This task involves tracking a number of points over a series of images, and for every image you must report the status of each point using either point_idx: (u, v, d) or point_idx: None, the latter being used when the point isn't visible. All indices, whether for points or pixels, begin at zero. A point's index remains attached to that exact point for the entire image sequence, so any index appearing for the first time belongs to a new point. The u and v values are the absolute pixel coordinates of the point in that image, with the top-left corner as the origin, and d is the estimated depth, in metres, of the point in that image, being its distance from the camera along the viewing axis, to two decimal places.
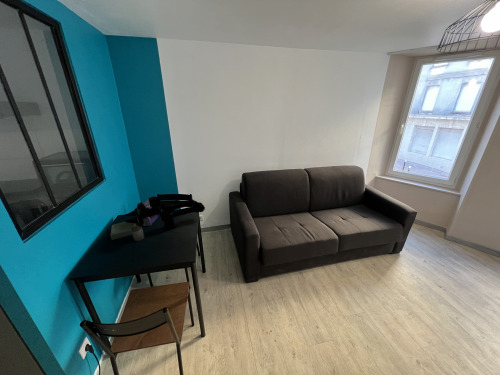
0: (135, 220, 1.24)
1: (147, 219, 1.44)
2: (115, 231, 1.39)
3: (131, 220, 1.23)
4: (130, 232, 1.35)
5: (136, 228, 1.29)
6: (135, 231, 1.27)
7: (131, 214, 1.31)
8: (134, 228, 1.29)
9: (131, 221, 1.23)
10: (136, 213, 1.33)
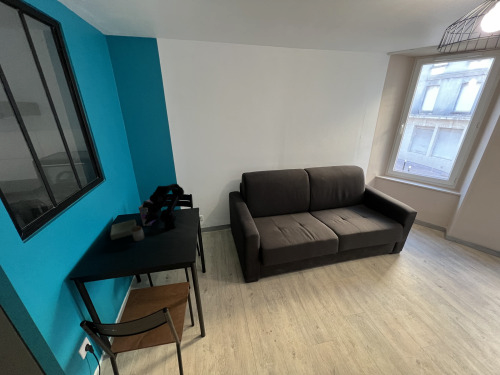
0: (151, 218, 1.25)
1: None
2: (115, 231, 1.39)
3: (147, 220, 1.25)
4: (130, 232, 1.35)
5: (136, 228, 1.29)
6: (135, 231, 1.27)
7: None
8: (134, 228, 1.29)
9: (148, 221, 1.25)
10: None
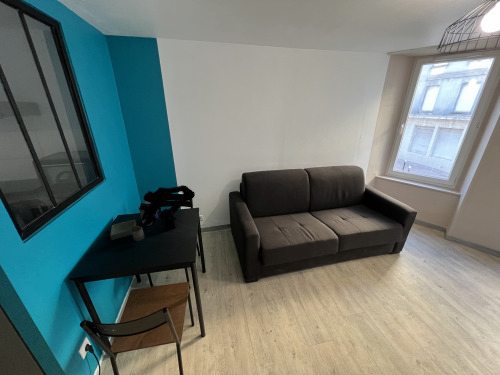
0: (149, 220, 1.26)
1: None
2: (115, 231, 1.39)
3: (146, 222, 1.25)
4: (130, 232, 1.35)
5: (136, 228, 1.29)
6: (135, 231, 1.27)
7: (145, 216, 1.34)
8: (134, 228, 1.29)
9: (147, 223, 1.26)
10: (148, 212, 1.35)
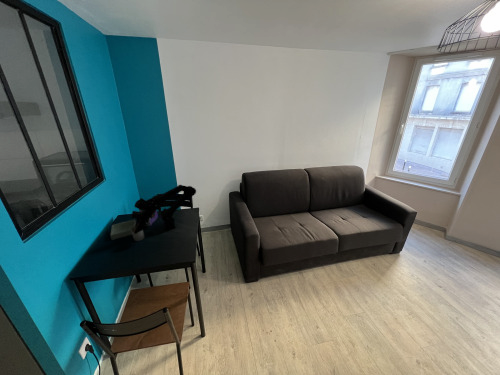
0: (140, 227, 1.26)
1: None
2: (115, 231, 1.39)
3: (137, 230, 1.26)
4: (130, 232, 1.35)
5: None
6: None
7: None
8: (134, 228, 1.29)
9: (138, 230, 1.26)
10: None
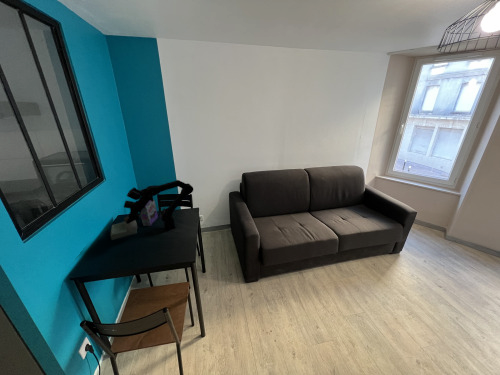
0: None
1: (147, 219, 1.44)
2: (115, 231, 1.39)
3: (129, 220, 1.23)
4: (130, 232, 1.35)
5: None
6: None
7: None
8: (127, 218, 1.26)
9: (130, 220, 1.23)
10: None
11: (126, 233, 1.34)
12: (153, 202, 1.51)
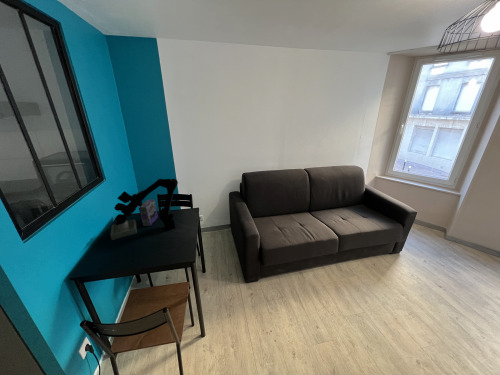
0: None
1: (147, 219, 1.44)
2: (115, 231, 1.39)
3: (117, 222, 1.31)
4: (130, 232, 1.35)
5: None
6: None
7: (125, 215, 1.41)
8: None
9: (118, 223, 1.31)
10: None
11: (126, 233, 1.34)
12: (153, 202, 1.51)
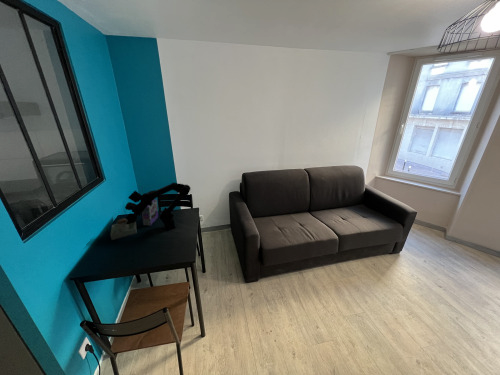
0: None
1: (148, 219, 1.44)
2: (115, 231, 1.39)
3: (128, 221, 1.32)
4: (130, 232, 1.35)
5: (121, 221, 1.36)
6: (118, 223, 1.34)
7: (135, 214, 1.41)
8: (120, 220, 1.37)
9: (129, 222, 1.32)
10: None
11: (126, 233, 1.34)
12: (155, 202, 1.51)
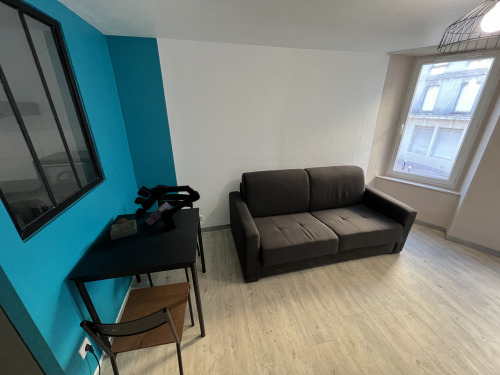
0: None
1: (154, 221, 1.44)
2: (115, 231, 1.39)
3: (137, 216, 1.28)
4: (130, 232, 1.35)
5: (121, 221, 1.36)
6: (119, 224, 1.34)
7: None
8: (120, 220, 1.36)
9: (138, 217, 1.29)
10: None
11: (126, 233, 1.34)
12: None
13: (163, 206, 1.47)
